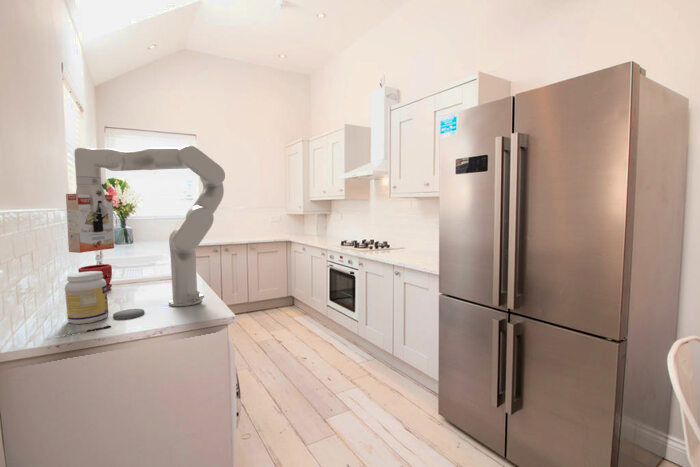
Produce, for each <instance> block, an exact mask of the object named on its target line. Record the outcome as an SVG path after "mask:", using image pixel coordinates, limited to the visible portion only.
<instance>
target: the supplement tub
mask: <svg viewBox="0 0 700 467" xmlns="http://www.w3.org/2000/svg"><path fill="white" fill-rule="evenodd" d="M66 277H67V279H66V284H65V285H64V292H65V294H64V295H65V306H66V316H67V322H68V323H70V324H73V325H83V324H84V325H85V324H90V323H91V324H92V323H95V322H98V321H99V322H100V321H102V320H105V319H107V317H108V316H109V303H108V290H107V286H106V281H105V280H104V279H102V277H103V272H101V271H88V272H79V271H78V272H75V273H71V274H68V275H67V276H66Z"/></svg>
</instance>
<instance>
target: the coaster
mask: <svg viewBox="0 0 700 467" xmlns="http://www.w3.org/2000/svg"><path fill="white" fill-rule="evenodd" d="M144 314H145V309H142V308H129V309H124V310H119V311H117V312H115V313H113V314H112V318H113V319H115V320H121V321H122V320H130V319H136V318H139V317H142V316H144Z"/></svg>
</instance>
